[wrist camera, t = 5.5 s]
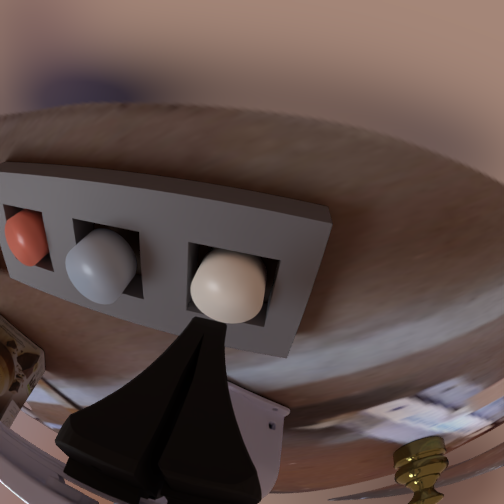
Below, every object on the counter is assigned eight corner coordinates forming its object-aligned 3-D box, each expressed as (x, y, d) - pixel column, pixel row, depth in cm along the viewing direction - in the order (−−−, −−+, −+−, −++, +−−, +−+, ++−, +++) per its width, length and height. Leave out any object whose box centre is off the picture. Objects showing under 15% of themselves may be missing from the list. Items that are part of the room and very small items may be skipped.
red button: (51, 208, 15) (31, 222, 14) (60, 255, 17) (43, 271, 16) (19, 202, 16) (0, 214, 14) (28, 246, 17) (11, 260, 16)
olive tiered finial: (388, 447, 28) (393, 516, 19) (444, 429, 25) (456, 497, 17) (395, 461, 31) (399, 519, 22) (443, 445, 28) (452, 503, 19)
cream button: (272, 251, 15) (269, 274, 13) (260, 305, 17) (256, 329, 15) (203, 237, 15) (191, 258, 13) (199, 292, 17) (189, 314, 15)
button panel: (328, 206, 14) (332, 224, 12) (288, 334, 19) (286, 358, 17) (4, 161, 15) (-15, 170, 13) (24, 264, 20) (10, 277, 18)
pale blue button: (135, 234, 14) (116, 254, 13) (139, 289, 16) (124, 311, 15) (81, 223, 14) (60, 240, 13) (89, 275, 16) (72, 294, 15)
